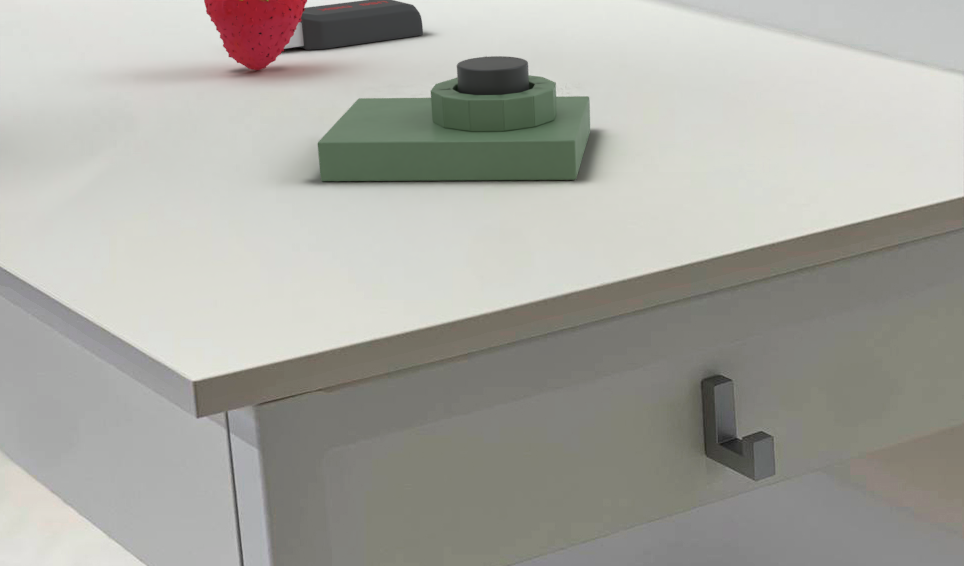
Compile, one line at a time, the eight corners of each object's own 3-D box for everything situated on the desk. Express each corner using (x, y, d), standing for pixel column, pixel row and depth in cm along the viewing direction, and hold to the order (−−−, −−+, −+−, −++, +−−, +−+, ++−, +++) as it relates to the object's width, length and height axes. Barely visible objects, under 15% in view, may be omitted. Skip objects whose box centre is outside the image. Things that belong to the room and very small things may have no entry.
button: (453, 101, 90) (451, 70, 89) (463, 86, 93) (462, 56, 93) (525, 101, 90) (524, 69, 89) (532, 85, 93) (531, 55, 93)
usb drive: (423, 34, 129) (421, 0, 128) (286, 54, 123) (282, 17, 122) (391, 26, 133) (389, -8, 132) (256, 44, 127) (253, 9, 126)
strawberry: (325, 72, 116) (313, -71, 112) (222, 83, 113) (206, -64, 110) (304, 59, 121) (291, -79, 117) (204, 69, 118) (188, -72, 114)
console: (320, 181, 88) (314, 109, 87) (361, 133, 98) (355, 68, 97) (576, 180, 87) (574, 107, 86) (590, 132, 98) (588, 65, 96)
